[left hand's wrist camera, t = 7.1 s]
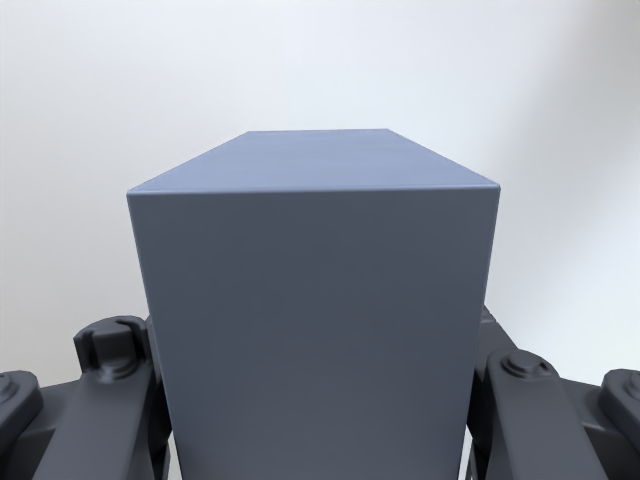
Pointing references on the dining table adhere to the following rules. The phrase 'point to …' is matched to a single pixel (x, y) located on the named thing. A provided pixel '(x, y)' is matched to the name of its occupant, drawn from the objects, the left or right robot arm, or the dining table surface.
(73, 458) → the left robot arm
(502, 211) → the dining table surface
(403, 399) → the beam
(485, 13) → the dining table surface
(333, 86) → the dining table surface
